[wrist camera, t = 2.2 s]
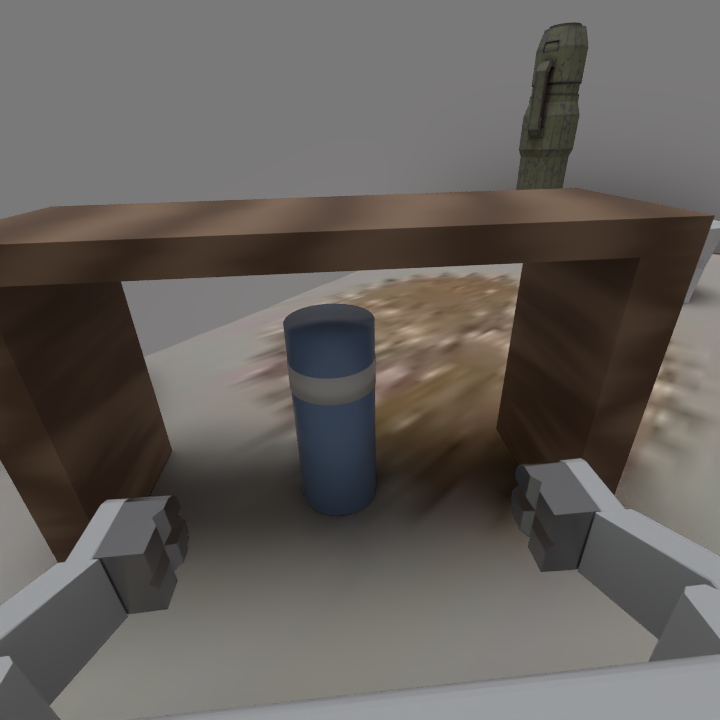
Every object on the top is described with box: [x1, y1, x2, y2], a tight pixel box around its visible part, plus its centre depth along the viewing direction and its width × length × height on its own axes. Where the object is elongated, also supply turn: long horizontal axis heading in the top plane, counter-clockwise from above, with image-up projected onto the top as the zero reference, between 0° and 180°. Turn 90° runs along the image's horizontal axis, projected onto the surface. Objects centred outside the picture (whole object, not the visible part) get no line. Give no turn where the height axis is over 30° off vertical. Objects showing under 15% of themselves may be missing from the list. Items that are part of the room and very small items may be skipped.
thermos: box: [516, 23, 588, 190], centre depth 74 cm, size 9×12×35 cm
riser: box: [0, 188, 714, 563], centre depth 24 cm, size 30×10×18 cm, turn 94°
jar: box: [283, 304, 376, 516], centre depth 25 cm, size 5×5×12 cm
